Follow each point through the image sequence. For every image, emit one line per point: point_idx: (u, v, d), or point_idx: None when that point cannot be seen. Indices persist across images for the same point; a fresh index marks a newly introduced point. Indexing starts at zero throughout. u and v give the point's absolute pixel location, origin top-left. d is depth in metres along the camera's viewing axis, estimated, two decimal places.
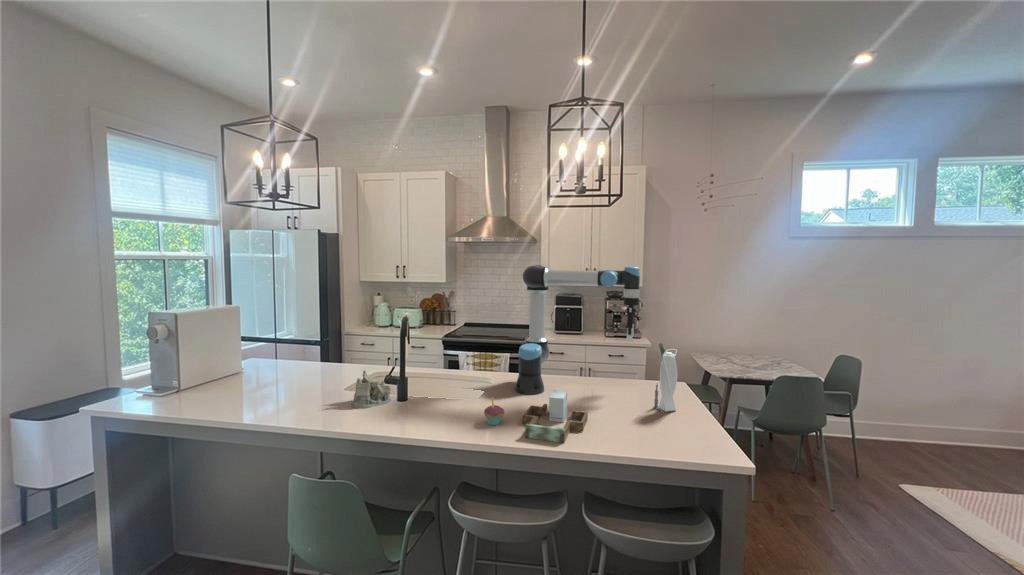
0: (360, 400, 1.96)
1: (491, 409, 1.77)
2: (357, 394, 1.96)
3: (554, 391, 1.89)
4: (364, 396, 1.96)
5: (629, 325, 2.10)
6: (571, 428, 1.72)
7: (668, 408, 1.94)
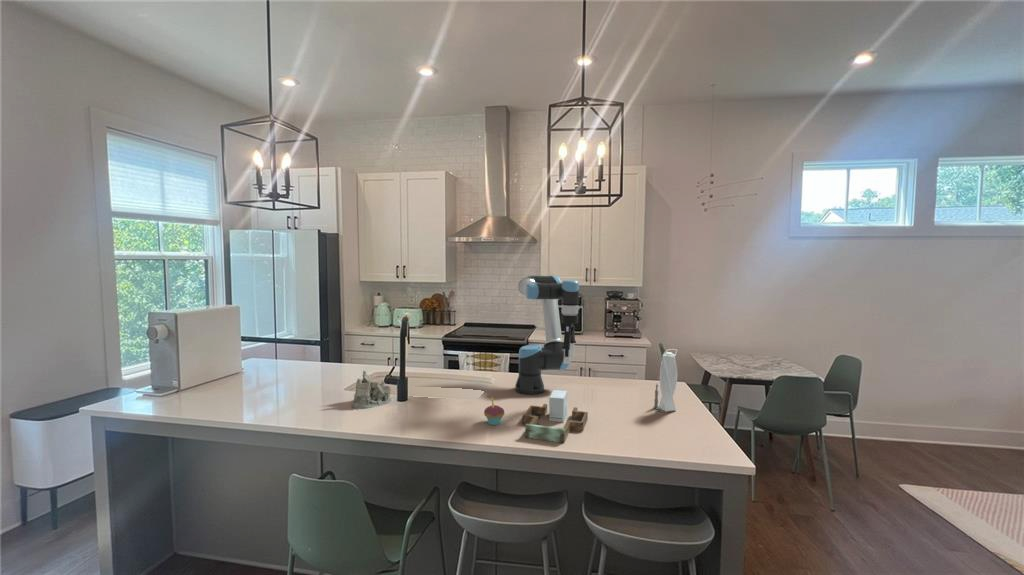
0: (360, 400, 1.96)
1: (491, 409, 1.77)
2: (357, 394, 1.95)
3: (554, 391, 1.89)
4: (364, 396, 1.96)
5: (566, 347, 1.88)
6: (571, 428, 1.72)
7: (668, 408, 1.94)
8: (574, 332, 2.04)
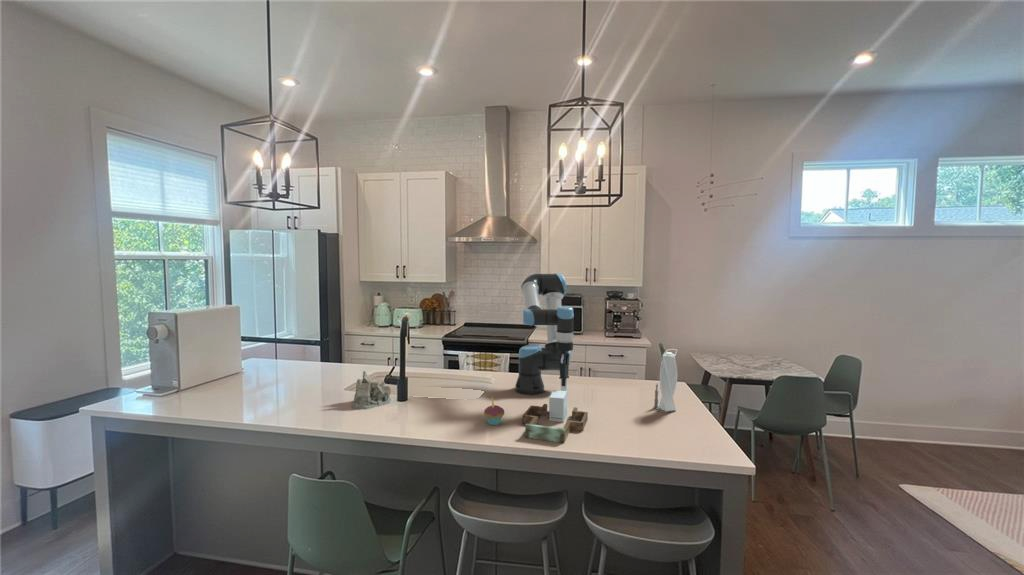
0: (360, 400, 1.95)
1: (491, 409, 1.77)
2: (357, 395, 1.95)
3: (554, 391, 1.89)
4: (364, 397, 1.95)
5: (562, 377, 1.93)
6: (571, 428, 1.72)
7: (668, 408, 1.94)
8: (568, 365, 2.00)
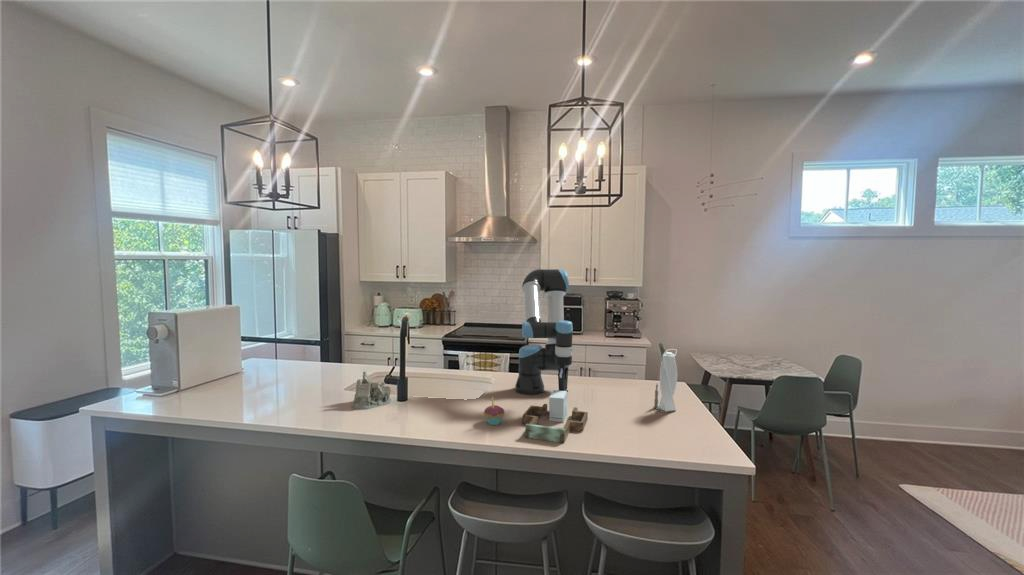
0: (360, 401, 1.95)
1: (491, 409, 1.77)
2: (357, 395, 1.94)
3: (554, 391, 1.89)
4: (365, 397, 1.95)
5: None
6: (571, 428, 1.72)
7: (668, 408, 1.94)
8: (567, 379, 1.99)
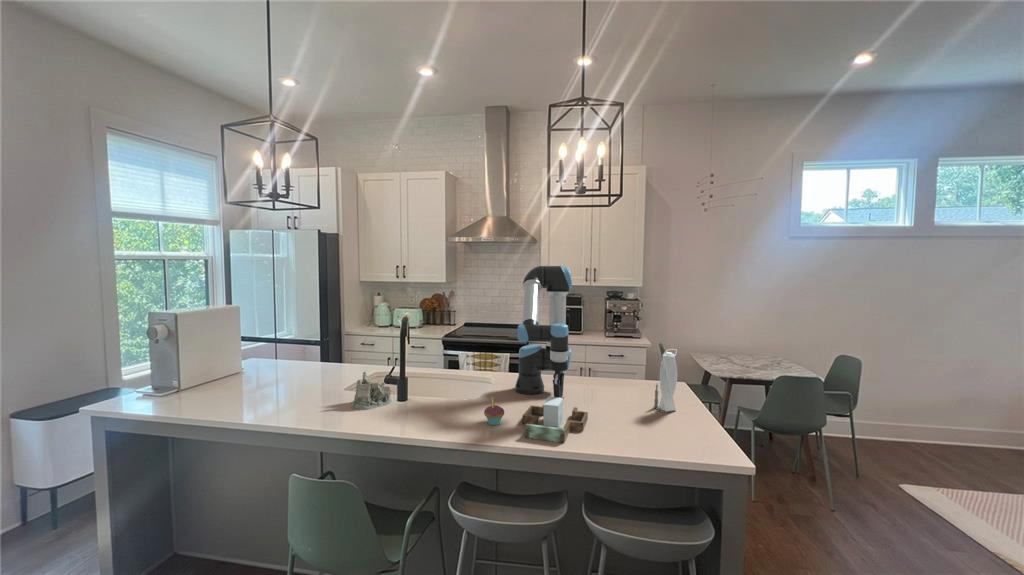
0: (360, 401, 1.94)
1: (491, 409, 1.77)
2: (357, 396, 1.94)
3: (549, 398, 1.80)
4: (365, 397, 1.94)
5: None
6: (571, 428, 1.72)
7: (668, 408, 1.94)
8: None
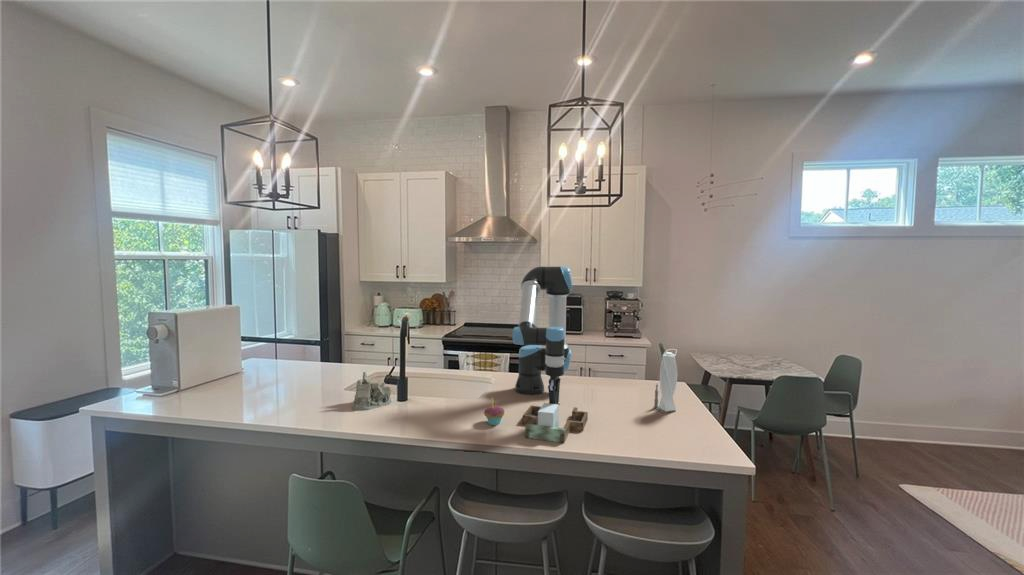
0: (360, 402, 1.94)
1: (491, 409, 1.77)
2: (358, 396, 1.93)
3: (544, 404, 1.72)
4: (365, 398, 1.94)
5: None
6: (571, 428, 1.72)
7: (668, 408, 1.94)
8: None
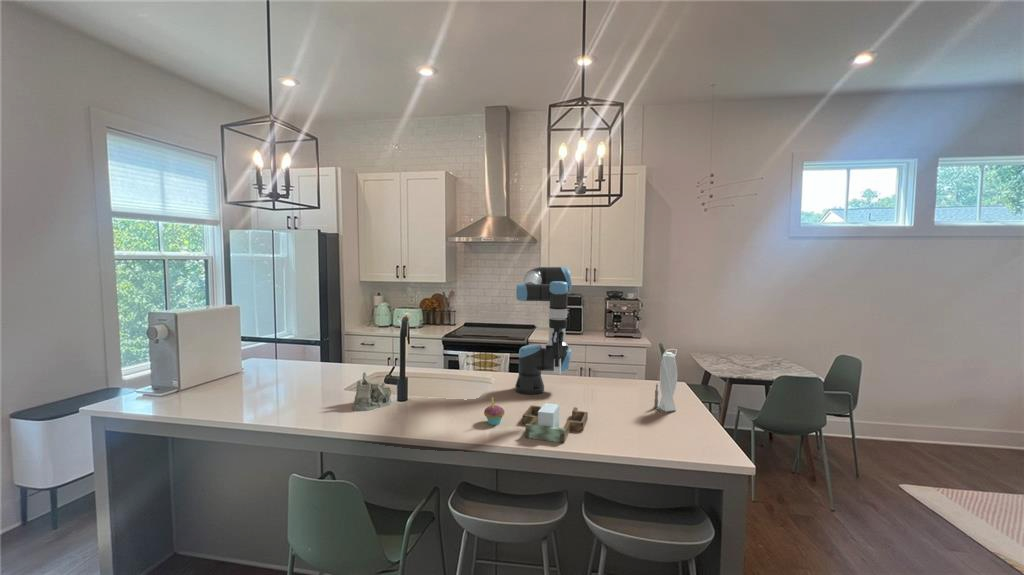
0: (361, 402, 1.93)
1: (491, 409, 1.77)
2: (358, 396, 1.93)
3: (545, 404, 1.72)
4: (365, 398, 1.93)
5: (555, 357, 1.78)
6: (571, 428, 1.72)
7: (668, 408, 1.94)
8: (562, 344, 1.85)
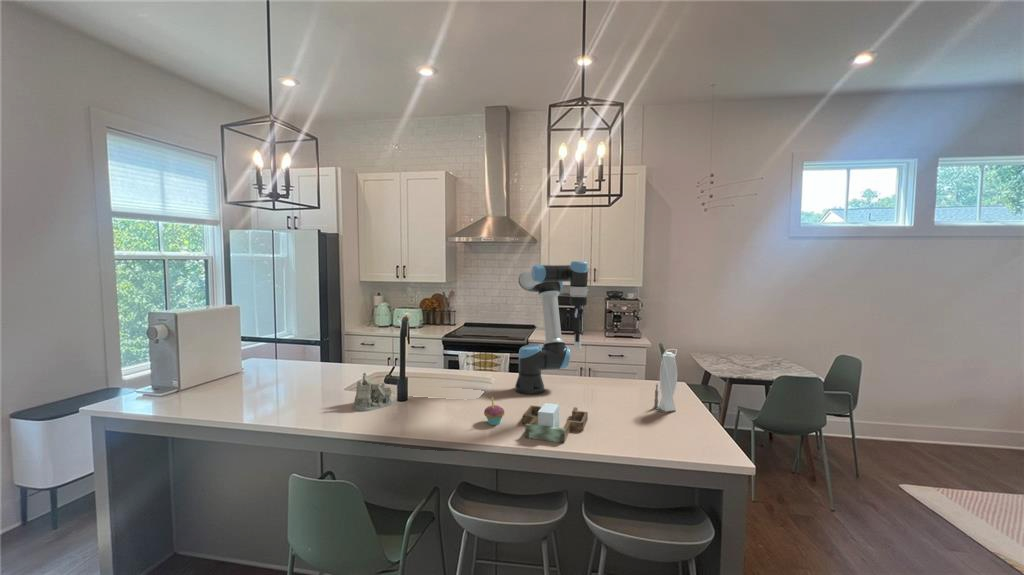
0: (361, 402, 1.92)
1: (491, 409, 1.77)
2: (358, 397, 1.92)
3: (545, 404, 1.72)
4: (365, 399, 1.92)
5: (576, 332, 1.89)
6: (571, 428, 1.72)
7: (668, 408, 1.94)
8: None
